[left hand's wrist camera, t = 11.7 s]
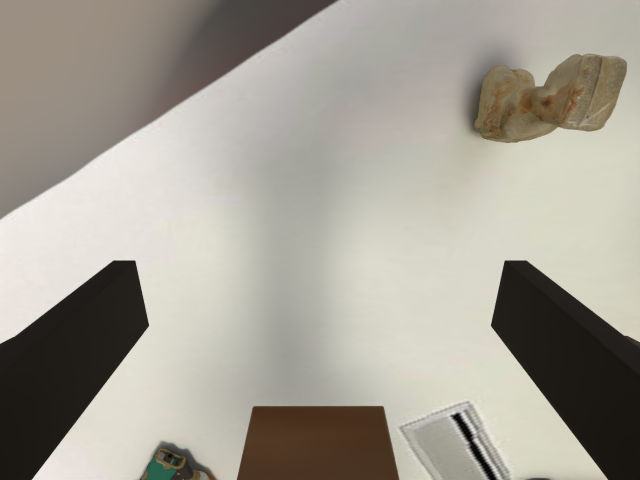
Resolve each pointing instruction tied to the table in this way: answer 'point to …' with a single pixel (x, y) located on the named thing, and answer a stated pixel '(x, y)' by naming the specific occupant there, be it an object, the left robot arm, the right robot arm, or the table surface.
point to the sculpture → (549, 98)
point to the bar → (318, 444)
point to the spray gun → (171, 468)
